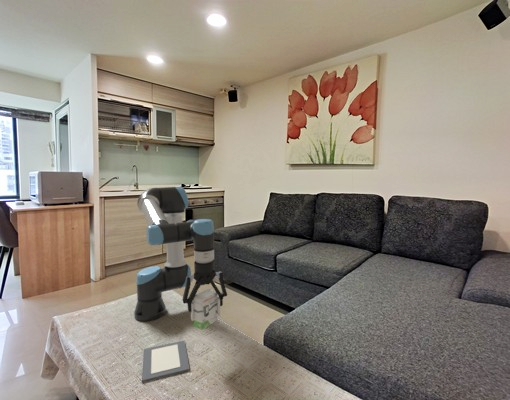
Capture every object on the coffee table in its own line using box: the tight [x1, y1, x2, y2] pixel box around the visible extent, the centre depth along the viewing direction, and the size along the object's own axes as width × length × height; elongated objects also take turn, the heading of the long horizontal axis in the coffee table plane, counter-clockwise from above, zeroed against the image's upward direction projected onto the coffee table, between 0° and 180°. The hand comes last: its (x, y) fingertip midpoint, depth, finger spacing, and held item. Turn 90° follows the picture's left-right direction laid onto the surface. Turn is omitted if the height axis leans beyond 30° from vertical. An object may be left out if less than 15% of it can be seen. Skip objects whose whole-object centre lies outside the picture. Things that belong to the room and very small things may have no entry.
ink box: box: [193, 288, 219, 330], centre depth 104 cm, size 9×5×12 cm, turn 144°
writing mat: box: [141, 340, 190, 383], centre depth 104 cm, size 18×16×1 cm
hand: (205, 316), depth 105 cm, fingers closed on ink box, 9 cm apart
